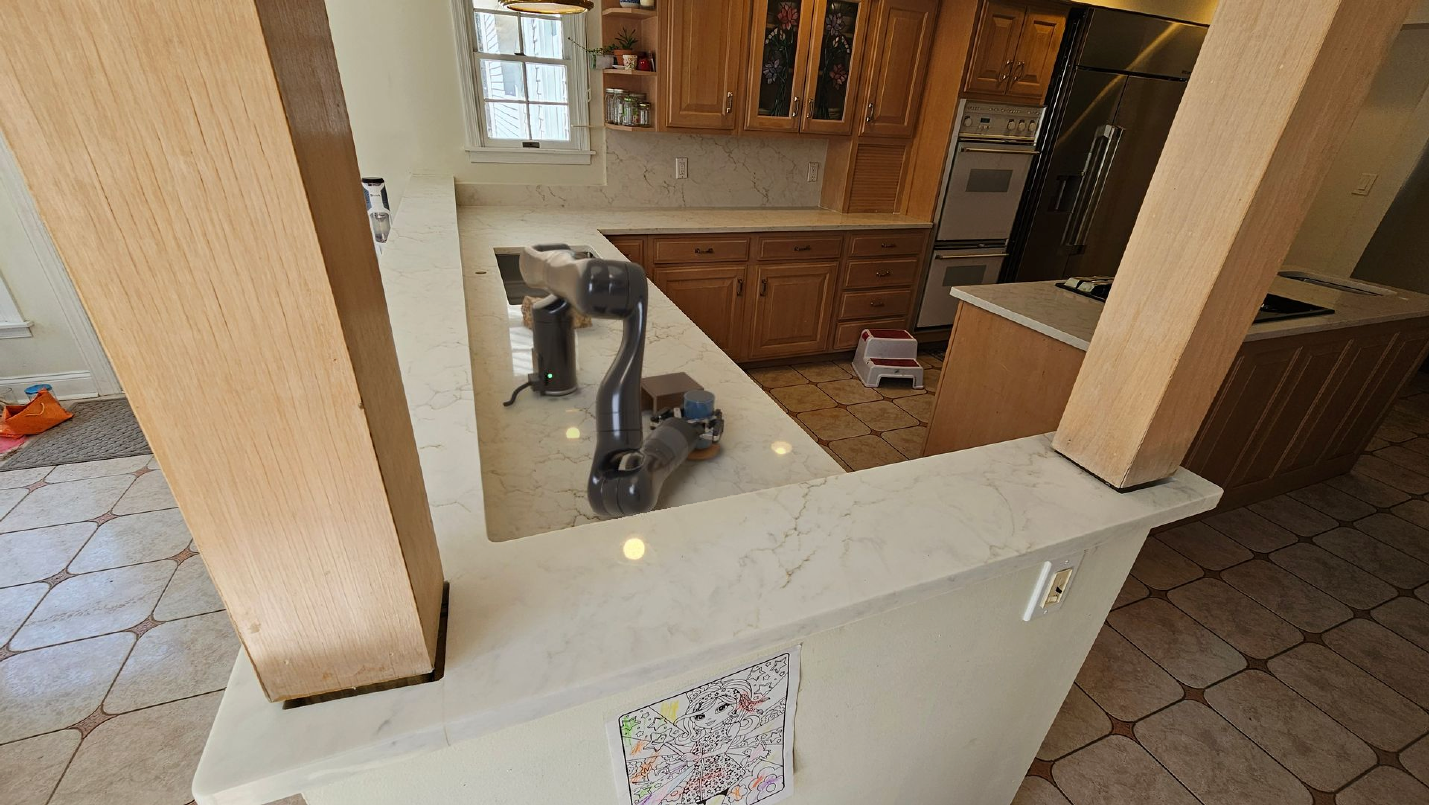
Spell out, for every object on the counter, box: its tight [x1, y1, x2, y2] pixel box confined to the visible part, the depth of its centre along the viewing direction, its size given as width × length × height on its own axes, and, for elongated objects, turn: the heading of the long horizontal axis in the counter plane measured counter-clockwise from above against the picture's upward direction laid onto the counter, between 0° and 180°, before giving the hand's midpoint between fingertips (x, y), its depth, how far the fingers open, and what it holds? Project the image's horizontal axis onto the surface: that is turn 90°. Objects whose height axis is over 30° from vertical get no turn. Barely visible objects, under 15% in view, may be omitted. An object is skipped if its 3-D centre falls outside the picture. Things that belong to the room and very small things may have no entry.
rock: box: [520, 295, 593, 331], centre depth 180 cm, size 28×22×16 cm
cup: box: [683, 389, 716, 449], centre depth 119 cm, size 6×6×10 cm
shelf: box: [641, 371, 705, 415], centre depth 132 cm, size 11×10×8 cm
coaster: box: [686, 443, 720, 461], centre depth 122 cm, size 9×9×1 cm
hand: (703, 409), depth 121 cm, fingers closed on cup, 6 cm apart
